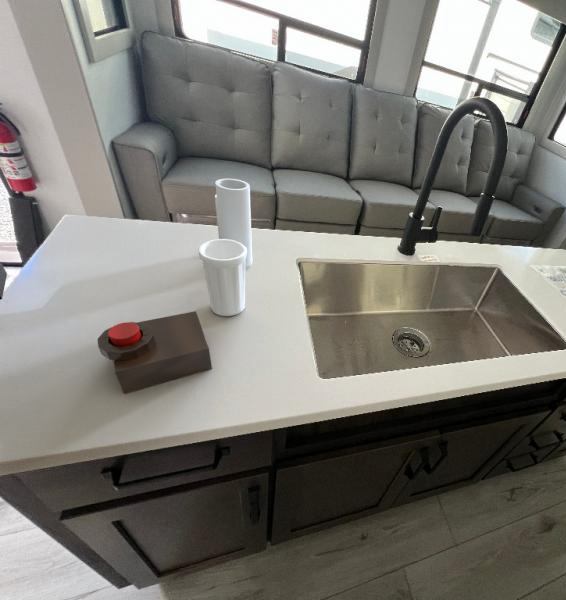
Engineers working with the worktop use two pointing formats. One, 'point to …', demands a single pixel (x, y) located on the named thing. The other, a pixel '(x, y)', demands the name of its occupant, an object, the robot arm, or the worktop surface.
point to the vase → (234, 213)
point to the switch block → (159, 352)
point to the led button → (124, 334)
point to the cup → (225, 274)
